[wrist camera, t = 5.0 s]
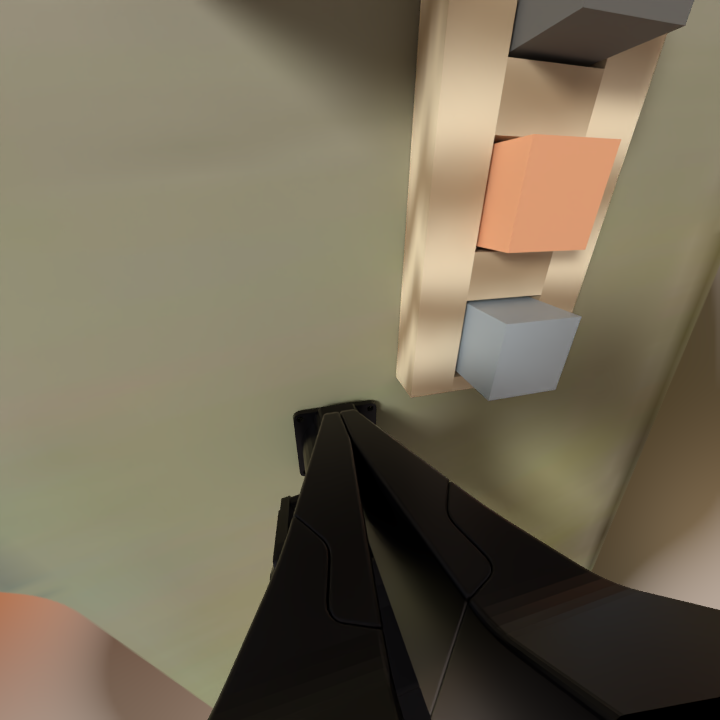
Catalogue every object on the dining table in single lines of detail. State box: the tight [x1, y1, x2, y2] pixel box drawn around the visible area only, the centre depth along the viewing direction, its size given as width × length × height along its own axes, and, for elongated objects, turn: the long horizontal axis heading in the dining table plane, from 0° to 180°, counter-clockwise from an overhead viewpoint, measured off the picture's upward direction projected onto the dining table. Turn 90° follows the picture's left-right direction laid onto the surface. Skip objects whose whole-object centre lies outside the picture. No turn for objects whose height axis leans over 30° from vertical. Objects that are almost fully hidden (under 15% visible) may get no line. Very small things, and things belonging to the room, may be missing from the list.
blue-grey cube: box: [455, 296, 581, 401], centre depth 20 cm, size 5×5×5 cm
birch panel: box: [396, 0, 667, 398], centre depth 18 cm, size 25×12×3 cm, turn 0°
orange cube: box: [476, 134, 621, 253], centre depth 17 cm, size 5×5×5 cm
